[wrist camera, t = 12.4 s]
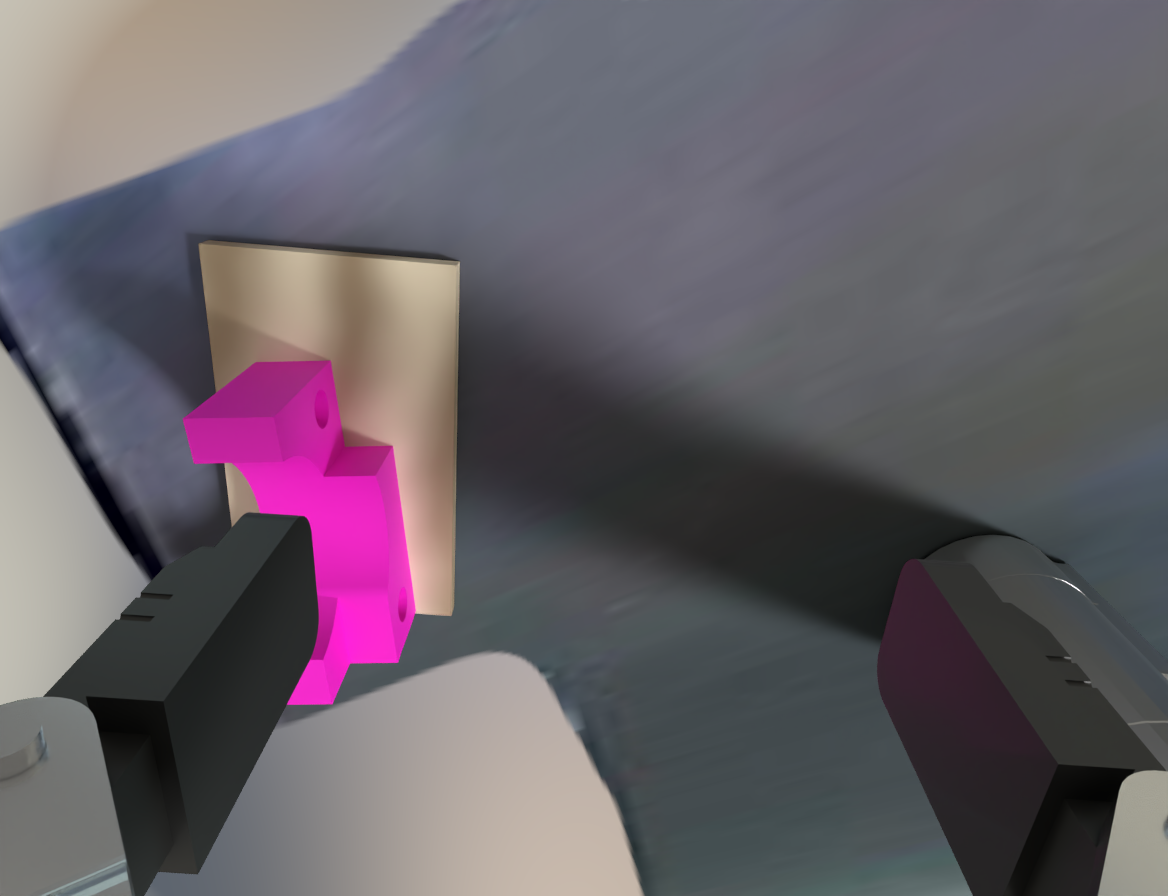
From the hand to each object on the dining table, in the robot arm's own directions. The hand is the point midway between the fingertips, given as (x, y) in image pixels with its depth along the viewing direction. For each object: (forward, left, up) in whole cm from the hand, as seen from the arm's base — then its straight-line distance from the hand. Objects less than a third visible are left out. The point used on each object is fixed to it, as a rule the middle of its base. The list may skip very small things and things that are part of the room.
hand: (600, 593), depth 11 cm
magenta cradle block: (+12, +14, -28) cm, 34 cm away
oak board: (+12, +12, -29) cm, 34 cm away
